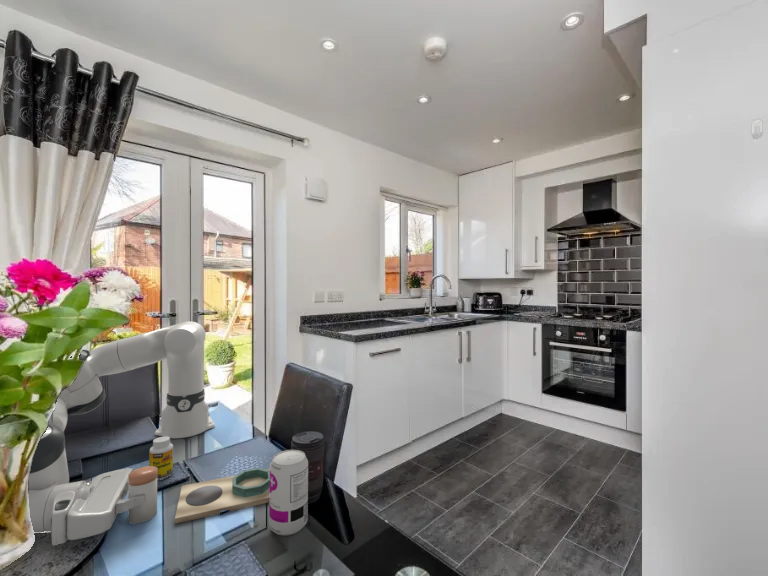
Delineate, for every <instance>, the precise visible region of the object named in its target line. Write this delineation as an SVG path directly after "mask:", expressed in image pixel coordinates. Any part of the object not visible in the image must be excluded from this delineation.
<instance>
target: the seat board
mask: <svg viewBox="0 0 768 576" xmlns="http://www.w3.org/2000/svg"><path fill="white" fill-rule="evenodd" d="M267 503H270V468H267V469H264V468H261V467H257V468H252V469H251V468H250V469H246V470H243V471H241V472H239V473H238V474H236V475H231V476H230V475H229V476H226V477H221V478H216V479H215V478H214V479H211V480H205V481H199V482H194V483H189V484H184V485H182V486H181V488H180V493H179V498H178V502H177V507H176V511H175V515H174V516H175V517H174V524H175V525H176V524H179V523H180V524H181V523H185V522H190V521H193V520H194V521H195V520H197V519H202V518H206V517H211V516H215V515H219V514H220V511H222V510H226V509H228V510H230V511H229V512H233V511H237V510H242V509H247V508H250V507H255V506H259V505H263V504H267ZM246 507H247V508H246Z"/></svg>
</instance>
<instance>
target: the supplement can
mask: <svg viewBox="0 0 768 576" xmlns="http://www.w3.org/2000/svg"><path fill="white" fill-rule="evenodd" d="M269 469H270V502H269V515H268V518H269V523H268V524H269V525H268V526H269V529H270V530H271V531H272V532H273V533H274V534H276V535H279V536H291V535H295V534H297V533H299V532H300V531H301V530H302V529H303V528H304V527H305V525H307V523H308V520H309V519H308V518H309V516H308V513H309V512H308V511H309V509H308V508H309V505H308V460H307V458H306V456H305V453H304V452H302V451H299V450H291V449H287V450H286V449H285V450H282V451H280V452H278V453H276V454H274V456H272V460H271V462H270V464H269Z"/></svg>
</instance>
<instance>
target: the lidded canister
mask: <svg viewBox="0 0 768 576" xmlns="http://www.w3.org/2000/svg"><path fill="white" fill-rule="evenodd" d="M157 475H158V469H157V467H155V466H149V465H148V466H142V467H138V468H136V469H133V471H132V472H131V473H130V474H129V475H128V484H129V491H128V499H130V498H133V497H135V496H136V495H138V494H143V493H144V494H145V501H144V504H143V505H140V506H135V507H133V508H131V509H129V510H127V512H128V514H127V516H128V517H127V521H128V522H129V523H130V524H132V525H133V524H135V525H136V524H141V523H145V522H148V521H150V520H152V519H153V518H154V517H156V515H157V513H158V480H157Z"/></svg>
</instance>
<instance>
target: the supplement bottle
mask: <svg viewBox="0 0 768 576" xmlns="http://www.w3.org/2000/svg"><path fill="white" fill-rule="evenodd" d="M148 453H149V457H148V458H149V459H148V460H149V461H148V466H155V467H157V469H158V475H157V481H160V480H159V479H162V480H164V479H163V478H165V479H167V478H169V477H170V476H172V475H173V472H174V470H173V469H174V445H173V443H172V442H171V438H170V437H168V436H159V437H157V438H154V439H153V441H152V446H151V447H150V448H149V452H148ZM168 476H169V477H168ZM166 477H167V478H166Z"/></svg>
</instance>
